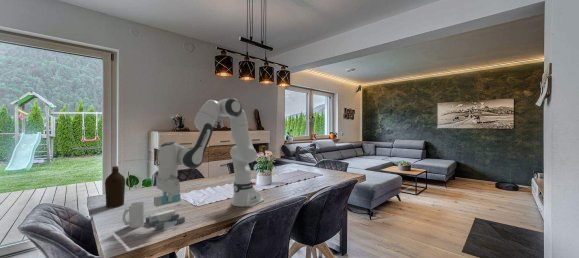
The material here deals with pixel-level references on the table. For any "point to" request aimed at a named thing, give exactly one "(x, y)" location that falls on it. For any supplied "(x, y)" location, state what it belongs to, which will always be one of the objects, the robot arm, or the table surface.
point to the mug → (135, 215)
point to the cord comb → (165, 222)
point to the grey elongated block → (162, 216)
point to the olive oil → (115, 188)
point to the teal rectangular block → (165, 200)
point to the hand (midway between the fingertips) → (167, 200)
